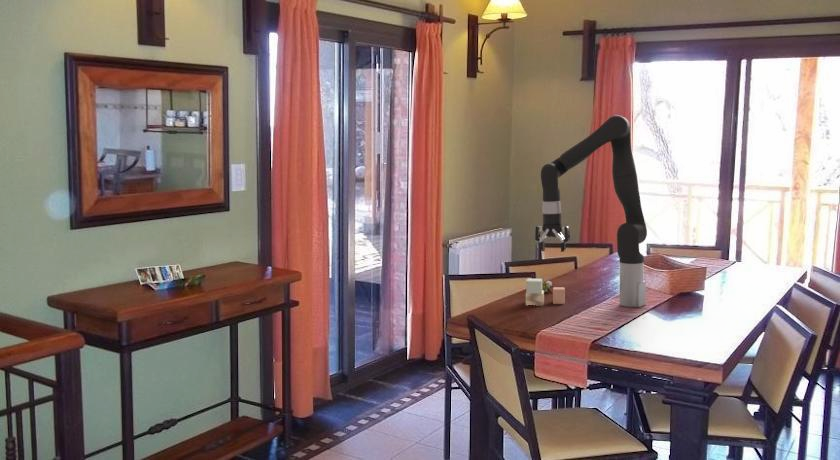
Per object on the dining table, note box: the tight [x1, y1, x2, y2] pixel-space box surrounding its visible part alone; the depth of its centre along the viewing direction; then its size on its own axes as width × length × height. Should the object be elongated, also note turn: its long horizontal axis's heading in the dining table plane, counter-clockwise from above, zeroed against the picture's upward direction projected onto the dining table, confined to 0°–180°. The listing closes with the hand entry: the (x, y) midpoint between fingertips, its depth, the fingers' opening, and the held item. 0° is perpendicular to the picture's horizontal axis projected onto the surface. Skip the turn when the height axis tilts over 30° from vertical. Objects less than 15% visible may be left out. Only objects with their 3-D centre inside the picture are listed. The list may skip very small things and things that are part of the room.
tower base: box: [525, 290, 545, 307], centre depth 318 cm, size 7×7×5 cm
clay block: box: [552, 286, 566, 305], centre depth 319 cm, size 4×4×6 cm
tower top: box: [525, 278, 542, 294], centre depth 318 cm, size 6×6×5 cm
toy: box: [540, 277, 554, 295], centre depth 338 cm, size 7×8×15 cm
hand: (552, 251), depth 322 cm, fingers open, 8 cm apart
